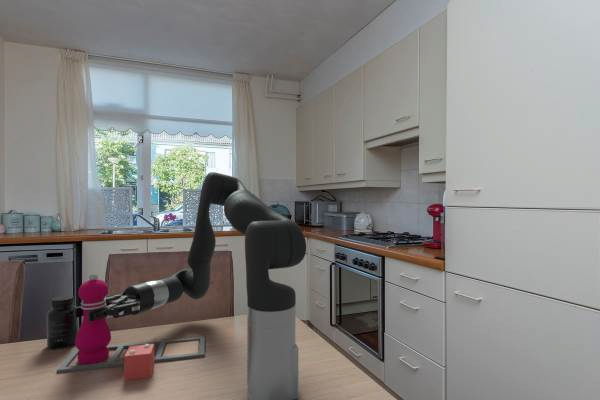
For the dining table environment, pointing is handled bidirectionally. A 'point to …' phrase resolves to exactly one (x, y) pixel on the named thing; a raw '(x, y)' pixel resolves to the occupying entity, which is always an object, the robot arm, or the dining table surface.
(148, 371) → the die
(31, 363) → the dining table surface
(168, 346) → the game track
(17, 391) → the dining table surface
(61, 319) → the supplement bottle
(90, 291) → the pepper mill
